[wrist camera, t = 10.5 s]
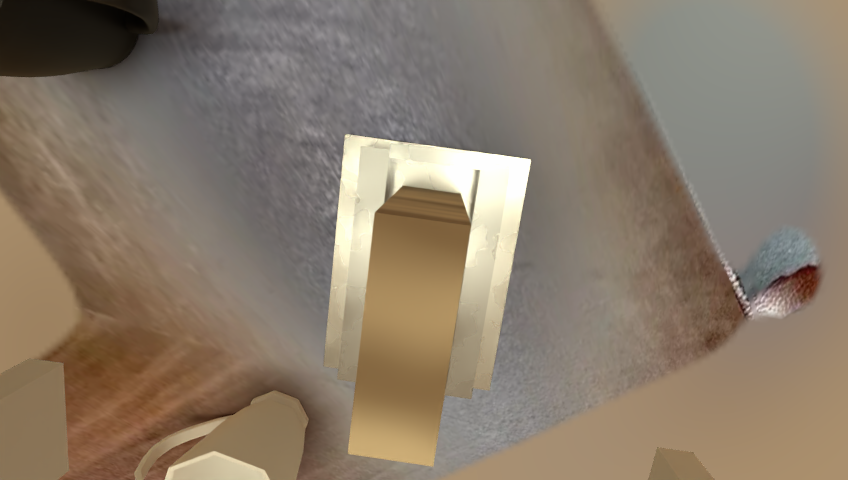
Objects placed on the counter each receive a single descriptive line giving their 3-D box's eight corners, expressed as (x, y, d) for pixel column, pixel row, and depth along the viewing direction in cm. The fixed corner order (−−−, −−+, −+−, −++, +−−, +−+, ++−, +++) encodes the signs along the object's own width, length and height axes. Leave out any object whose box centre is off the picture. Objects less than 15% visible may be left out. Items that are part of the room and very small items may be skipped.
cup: (330, 464, 32) (292, 570, 24) (192, 461, 32) (109, 564, 24) (325, 373, 30) (282, 453, 22) (180, 371, 31) (88, 449, 23)
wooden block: (403, 185, 27) (374, 212, 16) (461, 193, 27) (471, 225, 16) (384, 339, 29) (348, 453, 18) (437, 347, 29) (433, 466, 18)
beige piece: (346, 134, 27) (336, 133, 24) (529, 159, 27) (538, 160, 24) (324, 363, 30) (313, 383, 28) (488, 387, 30) (492, 409, 27)
